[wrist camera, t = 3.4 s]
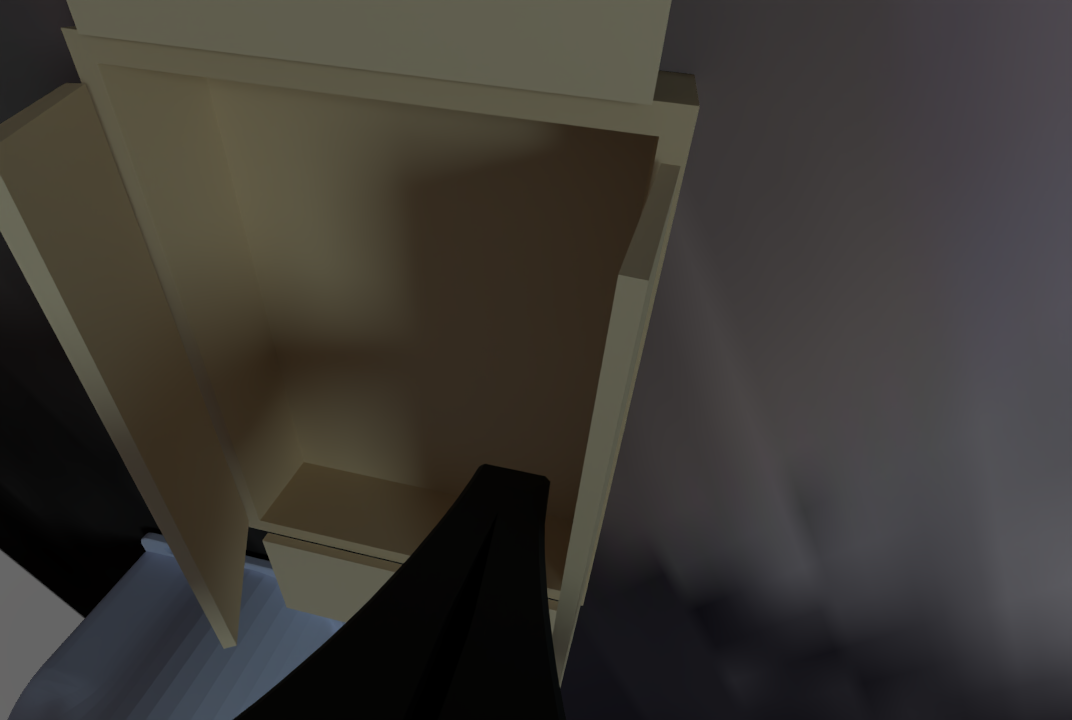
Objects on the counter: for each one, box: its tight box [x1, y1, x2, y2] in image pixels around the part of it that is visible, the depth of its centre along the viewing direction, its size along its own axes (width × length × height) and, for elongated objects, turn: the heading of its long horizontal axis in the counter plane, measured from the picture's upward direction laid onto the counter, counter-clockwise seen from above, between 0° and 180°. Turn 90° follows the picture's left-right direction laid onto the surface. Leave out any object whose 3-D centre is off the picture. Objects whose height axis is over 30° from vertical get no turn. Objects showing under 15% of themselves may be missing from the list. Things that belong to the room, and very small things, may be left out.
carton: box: [61, 0, 700, 635], centre depth 14 cm, size 11×22×3 cm, turn 176°
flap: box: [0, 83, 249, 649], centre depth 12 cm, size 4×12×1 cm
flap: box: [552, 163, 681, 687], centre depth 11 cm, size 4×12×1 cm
